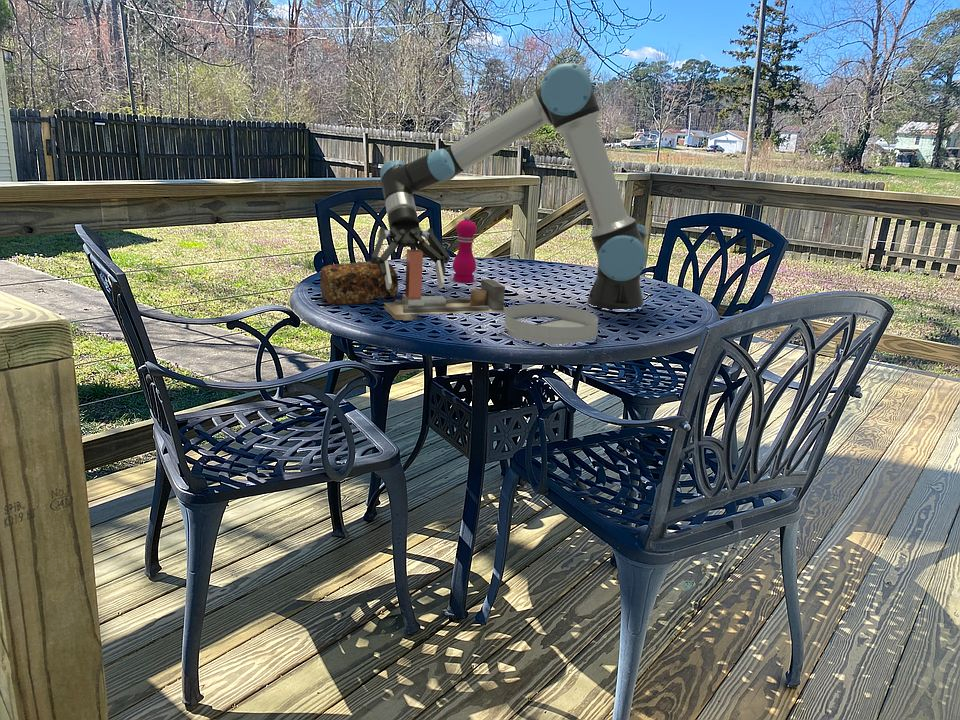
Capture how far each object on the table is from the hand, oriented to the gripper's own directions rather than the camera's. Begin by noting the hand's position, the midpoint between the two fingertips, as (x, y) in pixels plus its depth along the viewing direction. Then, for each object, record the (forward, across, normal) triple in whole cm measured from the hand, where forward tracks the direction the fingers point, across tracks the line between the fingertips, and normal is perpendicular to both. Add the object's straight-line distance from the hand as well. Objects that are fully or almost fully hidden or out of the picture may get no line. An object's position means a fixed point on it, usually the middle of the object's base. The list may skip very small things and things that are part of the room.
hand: (416, 286), depth 179 cm
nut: (+3, -17, -6) cm, 18 cm away
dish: (+20, -27, +8) cm, 35 cm away
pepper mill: (-23, -27, -34) cm, 49 cm away
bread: (-8, +10, -19) cm, 23 cm away
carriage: (+2, -3, -6) cm, 7 cm away
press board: (+4, -9, -7) cm, 12 cm away
